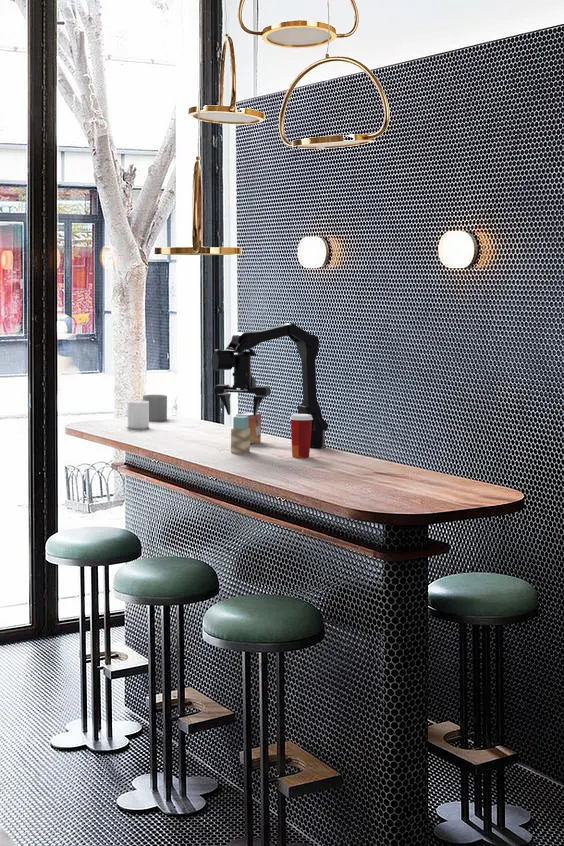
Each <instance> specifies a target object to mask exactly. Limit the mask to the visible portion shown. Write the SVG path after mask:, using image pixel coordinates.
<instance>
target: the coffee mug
mask: <svg viewBox="0 0 564 846" xmlns="http://www.w3.org/2000/svg"><path fill="white" fill-rule="evenodd" d="M140 401H148V402H149V422H161V421H163V422H164V421H167V420H168V396H167V395H165V394H144V395H143V396H142V399H141V400H140Z"/></svg>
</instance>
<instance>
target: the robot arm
mask: <svg viewBox="0 0 564 846" xmlns="http://www.w3.org/2000/svg"><path fill="white" fill-rule="evenodd" d="M284 337H288V338H289V339H290V340H291V341H292V342H293V343H295V345H296V346H295V347H296V351H297V353H298V355H299V358H300V359H301V374H302V375H301V378H302V381H301V384H302V402H301V405H298V404H297V414H310V415H312V418H313V420H312V430H311V441H310V448H314V449H315V448H316V449H322V448H325V447H326V446H327V444H325V443H326V441H325V440H326V431H328V429H329V424H328V423H327V421H326V420H325V419H324V418H323V414H322V408H321V406H320V404H319V402H318V396H317V395H318V393H317V371H316V370H317V369H316V360H317V356H318V353H319V350H320V349H319V348H320V338H319V337H318V336H317V335H315V334H312V333H309V332H307V331H306V330H304V329H303V328H301V327H299V326H298V325H296V324H295V323H292V322H291V323H290V322H285V323H284V324H280V325H276V326H273V327H272V326H271V327H268V328H264V329H260V330H256V331H237V332H235V333H233V335H232V336H231V340H230V342H229V344H228V345H227V347H226V348H225V349H223V350H221V349H214V350H213V352H214V353H213V354H212V357H211V363H210V364H211V368H212V370H214V371H229V370H230V371H231V370H232V369H233V372H232V377H233V384H232V386H230V384H221V383H220V384H216V385H214V387H213V394H214V395H215V394H216V396H217V397H219V399H220V400H221V402H222V404H223V407H224V409H225V411H226V413H227V415H228V416H230V415H231V395H232V394H231V393H240V394H242V393H243V394H255V395H254V396H253V399H252V401H253V405H252V406H253V409H252V413H253V414H254V416H256V414H257V413H258V410H259V407H260V405H261V403H262V401H263V399H266V398H267V397H268V396H269V395H271V394H272V393H271V391H272V390H271V387H270V386H268V385H267V386H266V385H257V379H255V377H253V373H252V371H251V370H252V366H251V364H252V361H251V360H252V357H257V355H258V353H256V351H254V350H253V348H255V347H257V346H258V345H259V344H261V343H263V342H268V341H271V340H275V339H280V338H284ZM256 385H257V386H256Z"/></svg>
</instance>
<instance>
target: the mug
mask: <svg viewBox="0 0 564 846" xmlns="http://www.w3.org/2000/svg"><path fill="white" fill-rule="evenodd" d="M126 418H127V428H128V429H132V430H142V429H143V430H144V429H148V428H149V425H150V421H149V402H148V401H141V400H128V401H127V408H126Z"/></svg>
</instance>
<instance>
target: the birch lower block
mask: <svg viewBox="0 0 564 846" xmlns="http://www.w3.org/2000/svg"><path fill="white" fill-rule="evenodd" d="M250 450H251V444H250V440H249V441H246V442H239V441H231V440H230V453H231V452H233V454H244V453H245V454H248V453H250Z"/></svg>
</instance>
